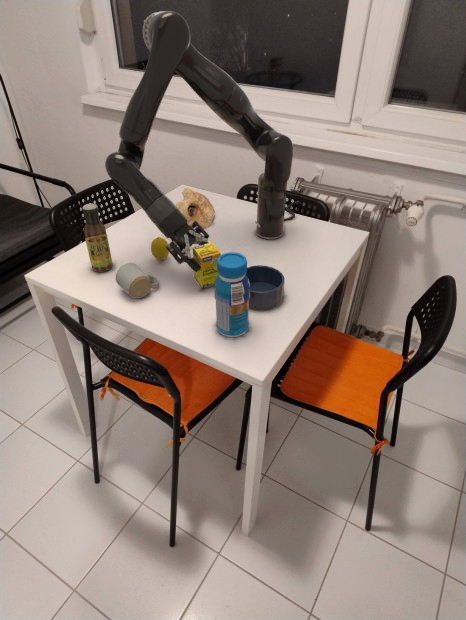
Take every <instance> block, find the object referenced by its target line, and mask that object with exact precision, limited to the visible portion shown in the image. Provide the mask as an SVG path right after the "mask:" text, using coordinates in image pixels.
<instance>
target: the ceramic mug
mask: <svg viewBox="0 0 466 620" xmlns="http://www.w3.org/2000/svg"><path fill="white" fill-rule="evenodd" d="M115 281H116V284H117V285H118V286H119V287H120V288H121V289H123V291H125V293H126V294H127V295H128V296H130V297H132V298H134V299H141V298H145V297H146V296H147V295H148V294H149V293H150V291H151V290H153V289H157V288H158V287H159V284H160V281H159V279H158V278H156V277H155V276H153V275H150V274H147V273H146V272H145V271H144V270H143V269H142V268H141V267H140V265H138V264H137V263H135V262H126V263H124V264H123V265H121V266H120V267H119V268H118V269H117V271H116V273H115Z"/></svg>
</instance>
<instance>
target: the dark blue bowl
mask: <svg viewBox="0 0 466 620" xmlns="http://www.w3.org/2000/svg"><path fill="white" fill-rule="evenodd" d="M246 276H247V277H248V279H249V282H250V287H249V290H250V299H249V310H252V311H258V312H263V311H269V310H272V309H273V310H274V309H275V308H278V307H279V306H280V305H281V303H282V302H283V299H284V292H285V291H284V290H285V281H286V280H285V276H284V274H283V273H282V272H281V271H280V270H279V269H277V268H274V267H272V266H268V265H263V264H262V265H261V264H259V265H251V266H247V272H246Z"/></svg>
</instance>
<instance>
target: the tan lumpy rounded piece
mask: <svg viewBox="0 0 466 620" xmlns="http://www.w3.org/2000/svg"><path fill="white" fill-rule="evenodd" d="M181 194H182V197H183V199H182V200H179V201H177V202H176V203H175V204H174V205H175V206H176V207H177V208H178V209H179V210H180V212H181V213H182V214H183V215H184V216H185V217H186V219H187V220H188V222H187V224H188V225H189V226H190V225H191V224H192V223H193V222H194V221H196V222H197V223H198V224H199V225H200V226H201V227H202V228H203V229H204V228H207V227H209V226H211V225H212V223H213V220H214V216H215V212H216V211H215V207H214V206H213V204H212V202H211V201H210V200H209V198H208V197H207V196H206V195H205V194H202V193H201V192H199V191H195V190H193V189H190V188H188V187H185V188H184V189H183V191H182V192H181Z"/></svg>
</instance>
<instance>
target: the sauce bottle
mask: <svg viewBox="0 0 466 620" xmlns="http://www.w3.org/2000/svg"><path fill="white" fill-rule="evenodd" d="M82 212H83V214H84V218H85V219H84V220H85V225H84V227H83V234H84V240H85V244H86V249H87V252H88V257H89V261H90V264H91V268H92V270H93V271H95V272H98V273H99V272H100V273H101V272H102V273H104V272H106V271H110V270H111V269H112V268H113V257H112V253H111V252H112V251H111V247H110V243H109V238H108V234H107V229H106V225H104V223H103V222H101V218H100V215H99V206H98V205H97V204H96V203H87V204H84V205H83V206H82Z"/></svg>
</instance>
